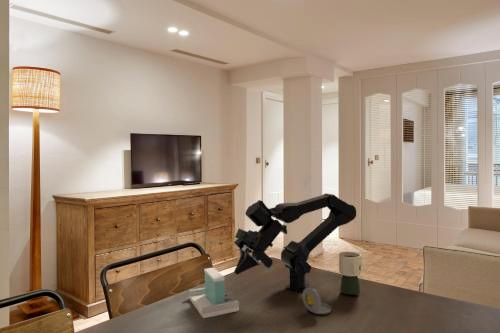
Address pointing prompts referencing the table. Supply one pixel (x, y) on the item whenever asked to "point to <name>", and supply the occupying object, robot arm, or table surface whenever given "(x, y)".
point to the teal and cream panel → (214, 286)
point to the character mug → (350, 272)
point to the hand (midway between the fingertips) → (235, 273)
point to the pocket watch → (314, 301)
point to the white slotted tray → (207, 307)
